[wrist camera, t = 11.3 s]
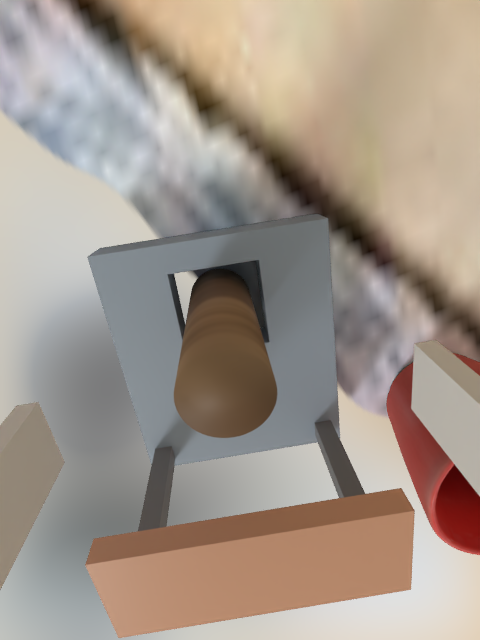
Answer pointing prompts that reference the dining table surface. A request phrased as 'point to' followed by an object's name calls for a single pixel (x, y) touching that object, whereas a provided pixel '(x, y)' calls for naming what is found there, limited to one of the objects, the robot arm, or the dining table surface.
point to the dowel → (223, 360)
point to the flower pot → (435, 469)
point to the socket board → (240, 445)
